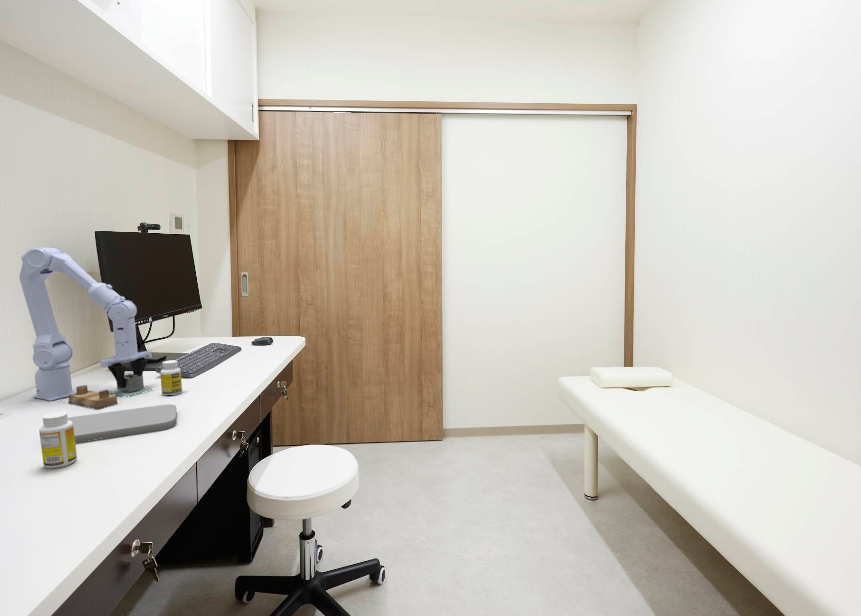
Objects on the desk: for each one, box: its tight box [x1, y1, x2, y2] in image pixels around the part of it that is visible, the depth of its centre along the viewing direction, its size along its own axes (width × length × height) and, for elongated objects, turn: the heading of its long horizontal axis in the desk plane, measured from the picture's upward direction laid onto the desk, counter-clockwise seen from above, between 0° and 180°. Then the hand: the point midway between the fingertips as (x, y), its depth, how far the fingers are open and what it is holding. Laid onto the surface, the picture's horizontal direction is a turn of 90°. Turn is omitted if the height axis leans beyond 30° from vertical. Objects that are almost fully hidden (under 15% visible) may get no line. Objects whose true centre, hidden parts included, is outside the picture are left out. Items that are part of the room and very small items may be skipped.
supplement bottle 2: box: [160, 359, 183, 396], centre depth 152 cm, size 5×5×10 cm
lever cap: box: [116, 372, 145, 392], centre depth 155 cm, size 6×4×5 cm
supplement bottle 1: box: [39, 411, 78, 469], centre depth 103 cm, size 6×6×10 cm
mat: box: [109, 387, 153, 398], centre depth 156 cm, size 10×8×1 cm
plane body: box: [68, 384, 119, 410], centre depth 144 cm, size 14×6×4 cm, turn 62°
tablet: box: [68, 404, 177, 444], centre depth 124 cm, size 16×26×2 cm, turn 115°
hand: (129, 385), depth 156 cm, fingers closed on lever cap, 4 cm apart
